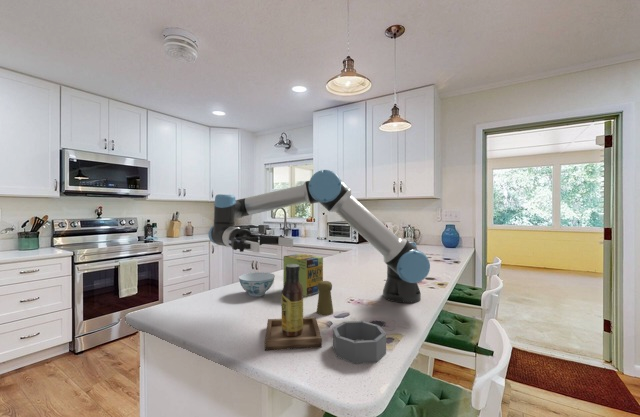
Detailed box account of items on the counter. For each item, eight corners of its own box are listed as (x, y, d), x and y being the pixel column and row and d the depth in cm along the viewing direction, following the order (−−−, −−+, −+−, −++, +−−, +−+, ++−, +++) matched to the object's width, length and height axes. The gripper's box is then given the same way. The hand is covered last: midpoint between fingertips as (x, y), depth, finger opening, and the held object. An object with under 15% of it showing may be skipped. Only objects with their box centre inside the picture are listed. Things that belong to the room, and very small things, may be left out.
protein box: (306, 297, 120) (306, 260, 120) (282, 290, 131) (282, 255, 131) (323, 292, 128) (323, 257, 128) (299, 285, 139) (299, 253, 138)
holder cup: (374, 337, 84) (375, 320, 84) (391, 361, 71) (391, 340, 71) (330, 339, 82) (330, 322, 82) (339, 364, 69) (339, 344, 69)
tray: (315, 324, 92) (315, 316, 92) (321, 347, 78) (321, 338, 78) (267, 327, 91) (267, 319, 91) (264, 350, 76) (264, 341, 76)
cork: (331, 316, 100) (331, 284, 100) (314, 314, 101) (314, 283, 101) (334, 309, 106) (334, 279, 106) (318, 308, 107) (318, 279, 107)
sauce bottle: (282, 328, 87) (281, 262, 87) (302, 327, 88) (302, 262, 87) (281, 338, 80) (280, 267, 80) (303, 337, 81) (303, 266, 81)
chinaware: (231, 296, 122) (231, 277, 122) (255, 287, 135) (255, 270, 135) (259, 301, 115) (259, 282, 115) (281, 291, 128) (281, 274, 128)
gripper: (265, 245, 114) (304, 252, 100) (204, 252, 95) (241, 263, 81) (266, 226, 114) (304, 230, 100) (204, 229, 95) (241, 236, 81)
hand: (276, 245), depth 90 cm, fingers open, 13 cm apart
